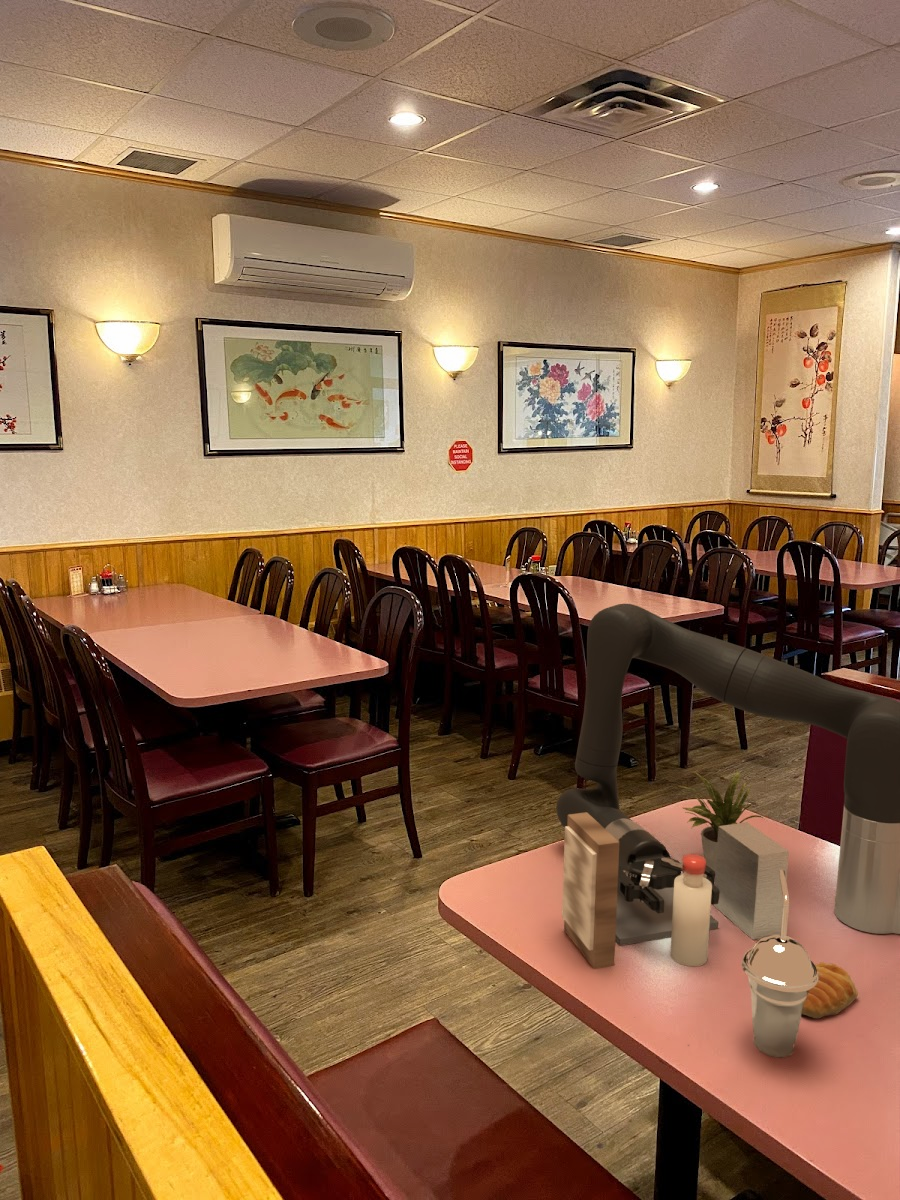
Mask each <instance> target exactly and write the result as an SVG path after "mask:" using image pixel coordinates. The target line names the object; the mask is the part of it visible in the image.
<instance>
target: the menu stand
mask: <svg viewBox="0 0 900 1200" xmlns="http://www.w3.org/2000/svg"><path fill="white" fill-rule="evenodd" d="M563 851H564V852H563V875H562V876H563V878H562V879H563V882H562V909H561V910H562V913H561V914H562V915H561V917H562V919H563V921H564V922H563V924H564V925H563V931H564V932H565V933H566V935H567V936H568V937H569V938H570V940H571V941H572V942H573V943H574V945H575V946H576V947H577V949H578V950H579V951H580V953H581V954H582V955H583V956H584V957H585V959H586V960H587V961H588V962H589V964H590V965H591V966H592V968H593V969H599V968H604V967H611V966H615V959H616V958H615V957H616V956H615V955H616V941H615V936H616V912H617V888H618V865H619V841H618V840H616V839H615V838H614V837H613V836H612V835H611V834H610V833H609V832H608V831H607V830H606V829H605V828H603V827H602V826H601V825H600V824H599V823H598V822H597V821H596V820H595V819H594V818H593V817H592V816H590V815H589V814H588V813H587V812H585V813H577V814H569V815H568V821H567V826H565V828H564V848H563Z"/></svg>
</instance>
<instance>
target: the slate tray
mask: <svg viewBox="0 0 900 1200" xmlns="http://www.w3.org/2000/svg"><path fill="white" fill-rule="evenodd" d="M654 890H655V891H656V892H657V893H658V894H659V895H660V896H661V897H662V898H663V899H664V913H660V914H658V913H657V912H656V911H653V910H652V909H650V908H649V907H648V906H647V905H646V904H645V903H644V902H640V901H639V899H634V901H633V902H628V901H626V900H625V899H624V898H623V897H622V896H621V894H620V893H619V892H618V891H617V912H616V936H615V943H617V945H619V946H626V945H627V946H628V945H631V944H638V943H644V942H649V941H654V940H660V939H665V938H671V932H672V914H673V895H674V887H673V888H664V889H660V890H657V889H654ZM718 929H719V921H718V920H717V919H716V918H715V917H714V916H712V915H711V914H710V925H709V931H712V930H718Z"/></svg>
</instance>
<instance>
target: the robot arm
mask: <svg viewBox="0 0 900 1200" xmlns="http://www.w3.org/2000/svg"><path fill="white" fill-rule="evenodd" d="M588 624H589V625H588V629H587V636H586V637H587V639H586V683H585V698H584V706H583V707H584V709H583V716H582V721H581V727H580V732H579V733H580V734H579V737H578V738H579V739H578V745H577V749H576V750H577V751H576V757H575V762H574V763H575V764H574V768H575V769H574V770H575V771H576V773H577V775H578V776H580V777H581V778H583V779H585V780H588V781H591V782H595V783H596V786H595V788H570V789H567V790H565V791H563V792H562V793H561V794H560V795H559V796H558V799H557V801H556V807H555V809H556V815H557V818H558V820H559V822H560V824H561V825H562V827H563V828H564V829H565V826H567V821H568V815H569V814H577V813H585V812H587V813H588V814H589V815H590V816H592V817H593V818H594V819H595V820H596V821H597V822H598V823H599V824H600V825H601V826H602V827H603V828H605V829H606V830H607V831H608V832H609V833H610V834H611V835H612V836H613V837H614V838H615V839H616V840H618V841H619V865H618V888H617V891H618V892H619V893H620V894H621V896H622V897H623V898H624V899H625V900H626V901H628V902H633V901H634V899H639V901H640V902H644V903H645V904H646V905H647V906H648V907H649V908H650V909H652V910H653V911H656V912H657V913H658V914H660V913H664V899H663V898H662V897H661V896H660V895H659V894H658V893H657V892H656V891H655V890H654V889H657V890H660V889H664V888H673V887H674V880H675V878H676V877H677V876H680V875H682V873H683V874H684V870H683V861H679V860H678V859H675V858H673V857H672V856H671V855H670V852H669V850H668V848H666V846H665V845H664V843H662V842H661V841H659V840H658V839H657V838H656V837H655V836H653V834H651V833H650V832H649V831H648V830H647V829H645V828H644V827H643V826H642V825H640V824H639V823H637V822H635V821H633V820H632V819H631V818H630V817H629V816H628V815H626V814H625V813H624V812H622V811H621V810H620V801H619V793H618V778H617V777H618V775H617V769H618V764H619V758H620V753H621V747H622V741H623V733H624V732H623V728H624V727H623V725H624V724H623V711H622V710H623V709H622V708H623V707H622V705H623V704H622V700H623V699H622V698H623V689H624V684H625V679H626V676H627V673H628V670H629V667H630V665H631V661H632V659H637V660H641V661H645V662H648V663H652V664H655V665H657V666H661V667H664V668H666V669H669V670H671V671H674V672H675V673H676V674H679V675H680V676H681V677H682V678H684V679H685V680H687V681H688V682H690V683H691V684H692V685H693V686H694V687H696V688H698V689H699V690H701V691H702V692H704V694H705V693H706V695H708V696H710V697H711V698H714V699H715V700H717V701H720V702H721V703H723V704H726V705H729V706H732V707H734V708H736V709H739V710H741V711H744V712H746V713H749V714H752V715H756V716H760V717H763V718H769V719H775V720H780V721H781V720H782V721H790V722H797V723H804V724H808V725H813V726H815V727H819V728H822V729H823V730H827V731H829V732H832V733H834V734H837V735H839V736H841V737H843V738H845V739H847V740H846V747H845V748H846V749H845V760H844V761H845V763H844V777H843V793H844V802H843V812H842V813H843V814H842V823H841V824H842V825H841V833H840V834H841V835H840V846H839V857H838V865H837V866H838V867H837V876H836V888H835V889H836V890H835V896H834V897H835V898H834V915H835V916H836V918H837V919H838V920H839V921H840V922H842V923H843V924H845V925H846V926H848V927H850V928H853V929H856V930H858V931H861V932H866V933H870V934H877V935H878V934H881V935H883V934H884V935H886V934H897V935H900V701H899V700H896V699H894V698H890V697H887V696H882V695H878V694H875V693H872V692H871V693H870V692H867V691H863V690H860V689H857V688H852V687H848V686H845V685H841V684H838V683H835V682H832V681H829V680H827V679H826V678H825V679H824V678H821V677H820V676H818V675H815V674H813V673H810V672H809V671H805V670H803V669H800V668H798V667H796V666H793V665H791V664H789V663H786V662H783V661H780V660H778V659H775V658H773V657H770V656H768V655H765V654H763V653H760V652H757V651H755V650H752V649H749V648H746V647H745V646H741V645H737V644H734V643H731V642H728V641H726V640H723V639H720V638H716V637H712V636H710V635H707V634H703V633H700V632H697V631H692V630H689V629H687V628H684V627H682V626H680V625H679V624H675V623H673V622H671V621H669V620H667V619H666V618H663V617H661V616H659V615H657V614H655V613H653V612H651V611H649V610H647V609H645V608H643V607H641V606H639V605H637V604H631V603H619V604H615V605H612V606H609V607H606V608H603V609H601V610H600V611H598V612H597V613H596V614H594V616H593V617H592V618H591V620H590V621H589V623H588ZM703 877H704V878H706V879H708V880H709V881H710V882H711V884H712V894H711V906H712V905H713V906H714V905H715V904H718V900H719V893H720V891H719V889H718V888H717V887H716V886H715V871H714V870H712V869H711V868H710V867H708V866H707V865H706V866H705V873H704V874H703Z"/></svg>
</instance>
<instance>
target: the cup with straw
mask: <svg viewBox="0 0 900 1200" xmlns="http://www.w3.org/2000/svg"><path fill="white" fill-rule="evenodd" d="M779 877H780V883H781V889H782V895H783V907H782V919H781V931H780V934H771V935H767V936H764V937H762V938H759V939H757V940H756V942H755V943H754V944H753V946H752V947H751V948H749V949H748V950H747V951H745V953H744V954H743V957H742V960H741V968H742V970H743V972H744V974H745V975H746V976H747V979H748V985H749V989H750V997H751V998H750V999H751V1016H752V1017H751V1018H752V1019H751V1020H752V1034H753V1044H754V1046H755V1048H756V1049H758V1050H759V1051H760V1052H762V1053H763V1054H764V1055H767V1056H769V1057H773V1058H786V1057H790V1056H791V1055H792V1054H793V1052H794V1049H795V1045H796V1041H797V1036H798V1033H799V1028H800V1023H801V1018H802V1016H803V1014H802V1011H803V1006H804V1002H805V1000H806V998H807V995H808V993H809V990H810V989H812V988H813V987H814V986H815V985H816V984H817V982H818V974H817V973H818V972H817V968H816V966H815V965H816V964H815V963H814V962H813V961H812V960H811V959H810V956H809V954H808V951H807V950H806V949H805V947H804V946H803V945H802V944H801V943H800V942H799V941H797V940H796V939H795V938H792V936H788V935H787V933H788V920H789V909H790V894H789V887H788V882H787V881H786V876H785V871H784V870H780V871H779Z"/></svg>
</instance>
